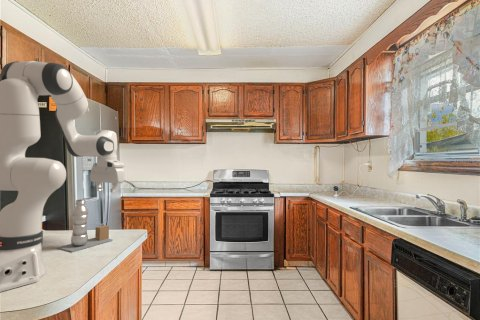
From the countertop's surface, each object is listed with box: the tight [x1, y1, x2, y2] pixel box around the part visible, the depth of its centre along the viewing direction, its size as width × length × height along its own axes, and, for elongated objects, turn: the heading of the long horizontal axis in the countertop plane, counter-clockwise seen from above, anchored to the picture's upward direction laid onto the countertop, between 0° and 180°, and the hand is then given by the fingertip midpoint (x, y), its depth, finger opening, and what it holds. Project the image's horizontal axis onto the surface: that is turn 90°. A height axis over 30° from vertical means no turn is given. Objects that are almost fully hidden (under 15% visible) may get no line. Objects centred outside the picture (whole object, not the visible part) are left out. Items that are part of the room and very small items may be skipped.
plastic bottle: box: [70, 199, 89, 246], centre depth 124 cm, size 6×7×20 cm
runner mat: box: [56, 224, 114, 253], centre depth 127 cm, size 20×10×6 cm, turn 154°
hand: (106, 191), depth 137 cm, fingers open, 8 cm apart
